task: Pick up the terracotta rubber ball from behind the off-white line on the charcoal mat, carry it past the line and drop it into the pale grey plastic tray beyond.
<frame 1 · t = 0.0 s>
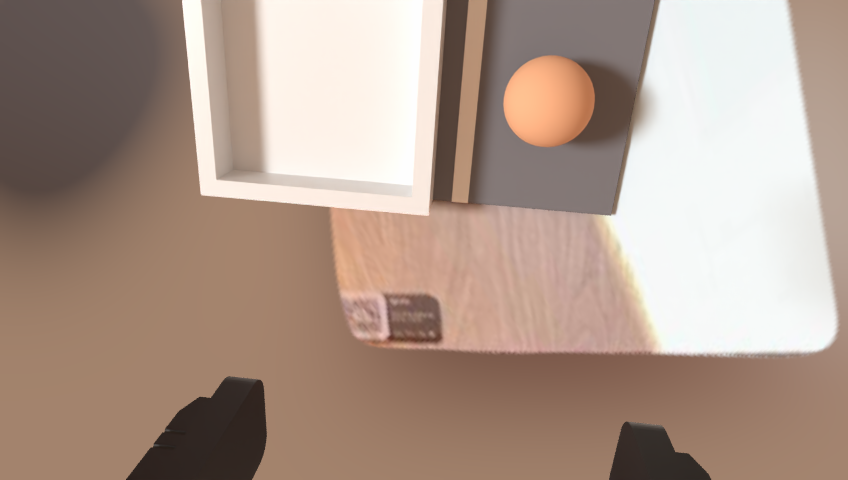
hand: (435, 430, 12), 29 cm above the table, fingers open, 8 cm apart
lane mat: (412, 85, 38), on the table
tray: (326, 79, 38), resting on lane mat
ball: (548, 102, 34), point 3 cm above the table, touching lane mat
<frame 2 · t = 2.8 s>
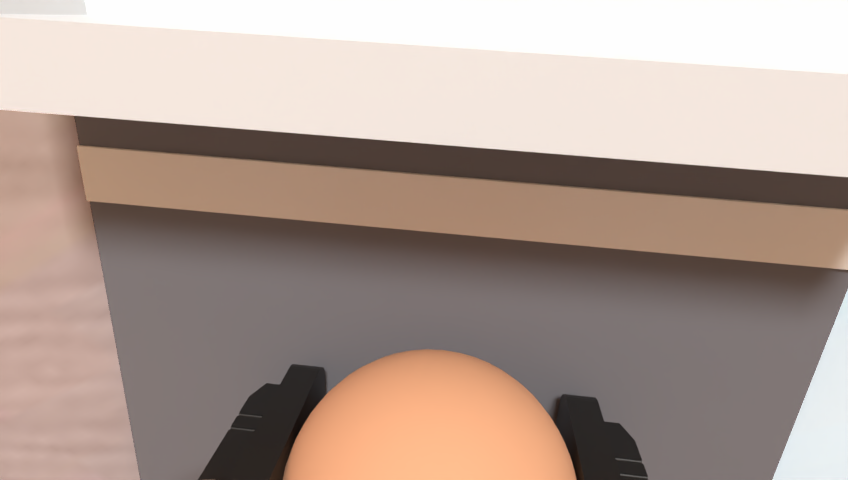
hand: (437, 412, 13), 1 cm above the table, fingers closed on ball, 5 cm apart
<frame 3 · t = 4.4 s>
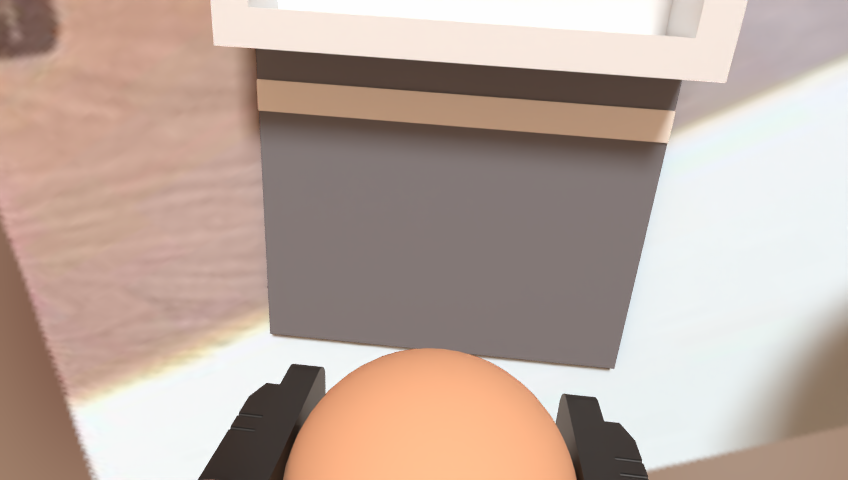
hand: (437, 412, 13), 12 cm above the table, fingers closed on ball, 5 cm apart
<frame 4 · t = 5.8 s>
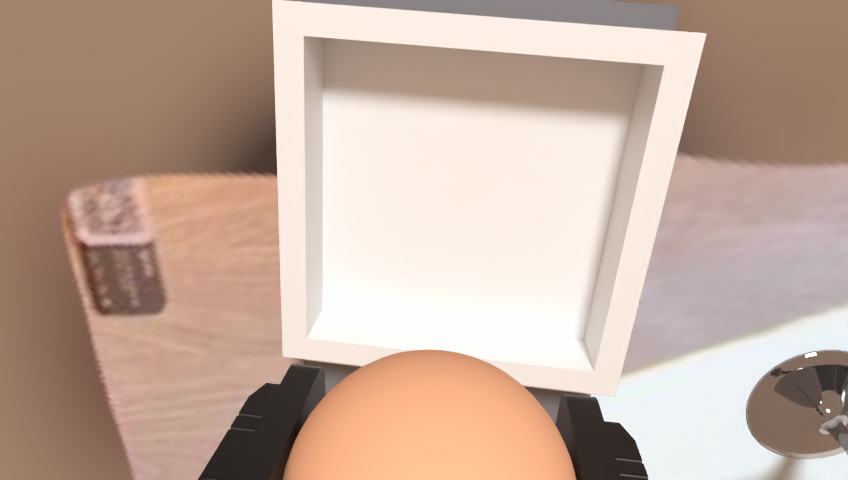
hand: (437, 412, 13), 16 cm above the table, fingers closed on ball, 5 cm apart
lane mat: (453, 299, 29), on the table
tray: (464, 194, 26), resting on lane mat
wine glass: (815, 404, 30), on the table
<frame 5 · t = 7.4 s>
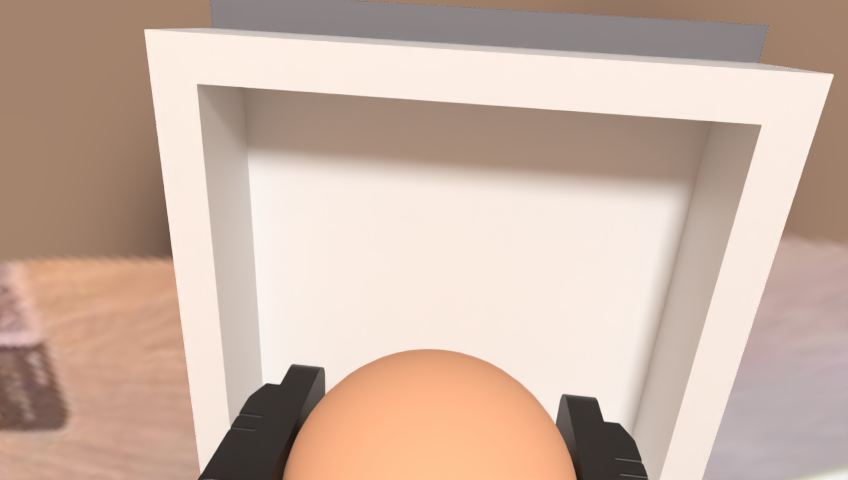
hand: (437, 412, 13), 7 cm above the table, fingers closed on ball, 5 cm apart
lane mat: (443, 418, 22), on the table
tray: (454, 288, 19), resting on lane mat
when the fingers open (4 cm above the table, at t = 8.6 s): ball drops 2 cm, resting on tray.
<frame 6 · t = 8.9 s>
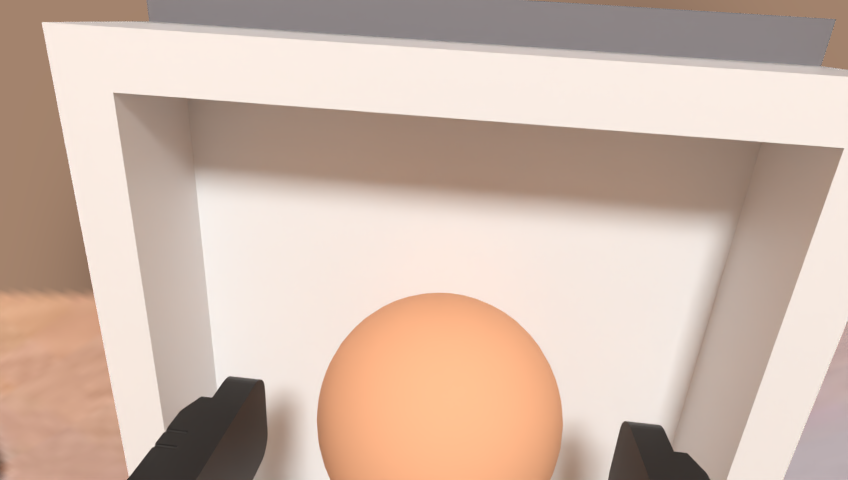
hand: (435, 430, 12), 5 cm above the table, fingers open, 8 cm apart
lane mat: (433, 476, 19), on the table
tray: (446, 331, 16), resting on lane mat
ball: (439, 413, 13), point 4 cm above the table, touching tray
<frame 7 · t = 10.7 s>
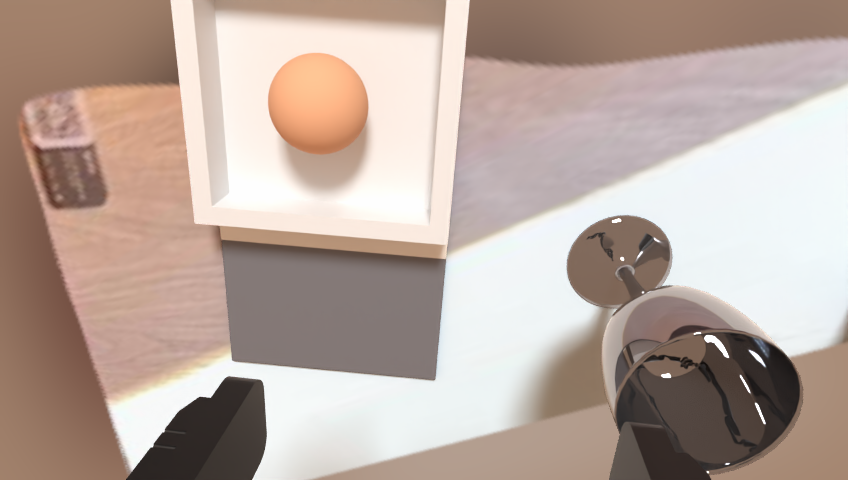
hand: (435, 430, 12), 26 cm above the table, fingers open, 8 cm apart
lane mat: (334, 184, 37), on the table
tray: (332, 95, 34), resting on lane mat
ball: (319, 104, 31), point 4 cm above the table, touching tray
wine glass: (618, 262, 38), on the table
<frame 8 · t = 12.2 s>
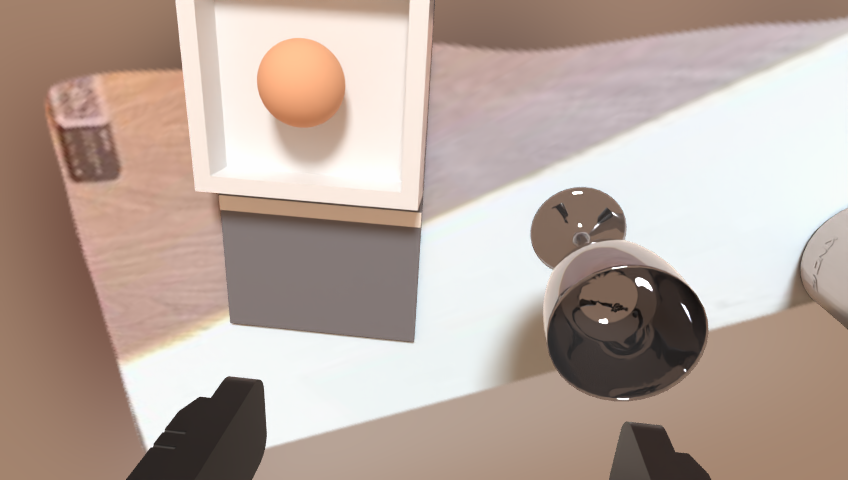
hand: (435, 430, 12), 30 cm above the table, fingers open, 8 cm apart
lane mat: (319, 159, 41), on the table
tray: (317, 78, 39), resting on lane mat
ball: (301, 83, 36), point 4 cm above the table, touching tray
wine glass: (577, 231, 42), on the table
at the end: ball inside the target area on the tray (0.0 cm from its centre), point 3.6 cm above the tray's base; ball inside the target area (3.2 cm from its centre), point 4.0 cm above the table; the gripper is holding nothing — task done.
